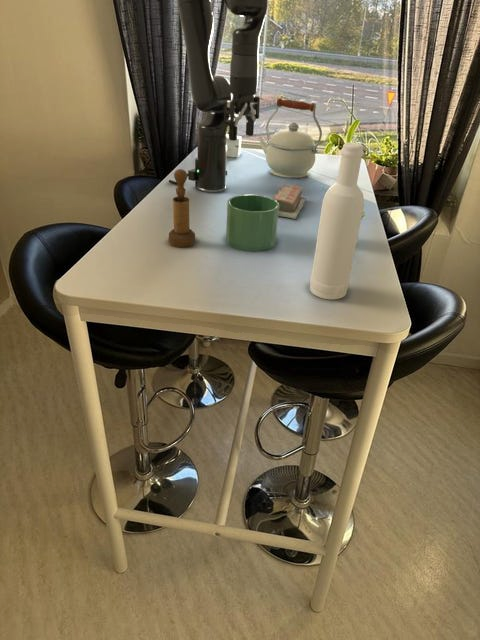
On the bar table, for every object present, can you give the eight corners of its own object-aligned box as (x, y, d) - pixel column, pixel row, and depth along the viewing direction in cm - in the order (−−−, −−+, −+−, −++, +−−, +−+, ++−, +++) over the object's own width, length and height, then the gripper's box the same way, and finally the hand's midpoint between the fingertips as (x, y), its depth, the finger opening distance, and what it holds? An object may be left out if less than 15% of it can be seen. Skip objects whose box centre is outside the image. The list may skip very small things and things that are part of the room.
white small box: (223, 156, 188) (224, 137, 184) (226, 152, 193) (227, 134, 189) (238, 157, 188) (239, 138, 184) (240, 154, 193) (241, 135, 189)
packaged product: (277, 181, 146) (308, 186, 144) (276, 196, 149) (306, 201, 147) (263, 198, 132) (297, 203, 129) (262, 214, 134) (295, 220, 132)
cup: (216, 242, 116) (217, 203, 111) (243, 227, 126) (245, 191, 120) (259, 255, 111) (262, 216, 105) (284, 239, 120) (288, 202, 115)
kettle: (325, 173, 175) (335, 102, 161) (304, 184, 162) (313, 107, 148) (268, 161, 186) (273, 93, 172) (244, 171, 172) (248, 98, 159)
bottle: (353, 298, 96) (385, 149, 79) (318, 302, 94) (344, 150, 77) (336, 280, 102) (362, 139, 86) (303, 283, 100) (323, 139, 84)
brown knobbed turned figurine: (174, 249, 112) (171, 174, 102) (165, 239, 116) (161, 167, 106) (199, 245, 114) (199, 172, 104) (189, 235, 119) (188, 164, 109)
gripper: (246, 71, 130) (244, 132, 138) (217, 74, 120) (216, 139, 128) (269, 74, 126) (265, 136, 135) (240, 77, 116) (238, 143, 125)
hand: (241, 137), depth 132 cm, fingers open, 8 cm apart
